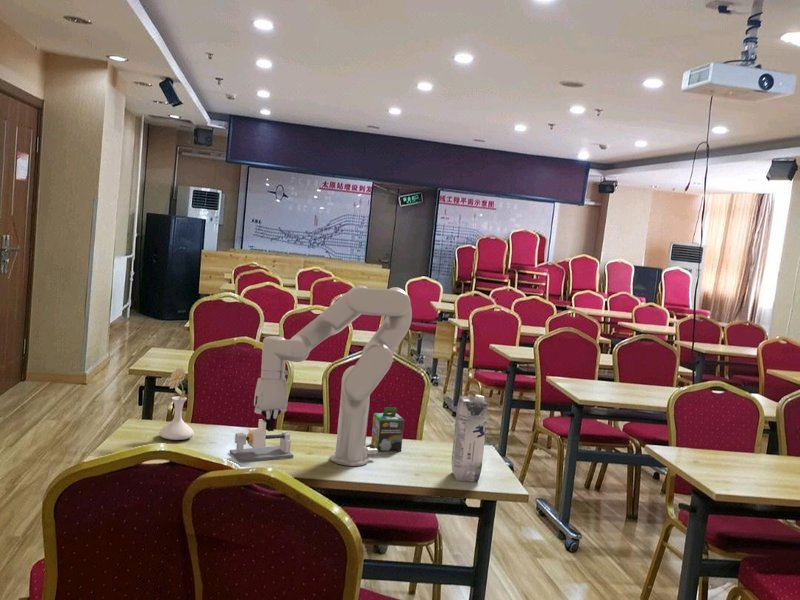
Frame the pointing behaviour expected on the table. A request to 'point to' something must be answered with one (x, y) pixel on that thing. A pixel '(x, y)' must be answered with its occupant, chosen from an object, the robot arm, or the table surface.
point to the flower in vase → (177, 411)
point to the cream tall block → (258, 435)
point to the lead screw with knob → (250, 438)
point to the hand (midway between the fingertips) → (269, 430)
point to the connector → (240, 442)
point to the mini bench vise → (266, 451)
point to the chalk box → (387, 430)
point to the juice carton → (469, 438)
